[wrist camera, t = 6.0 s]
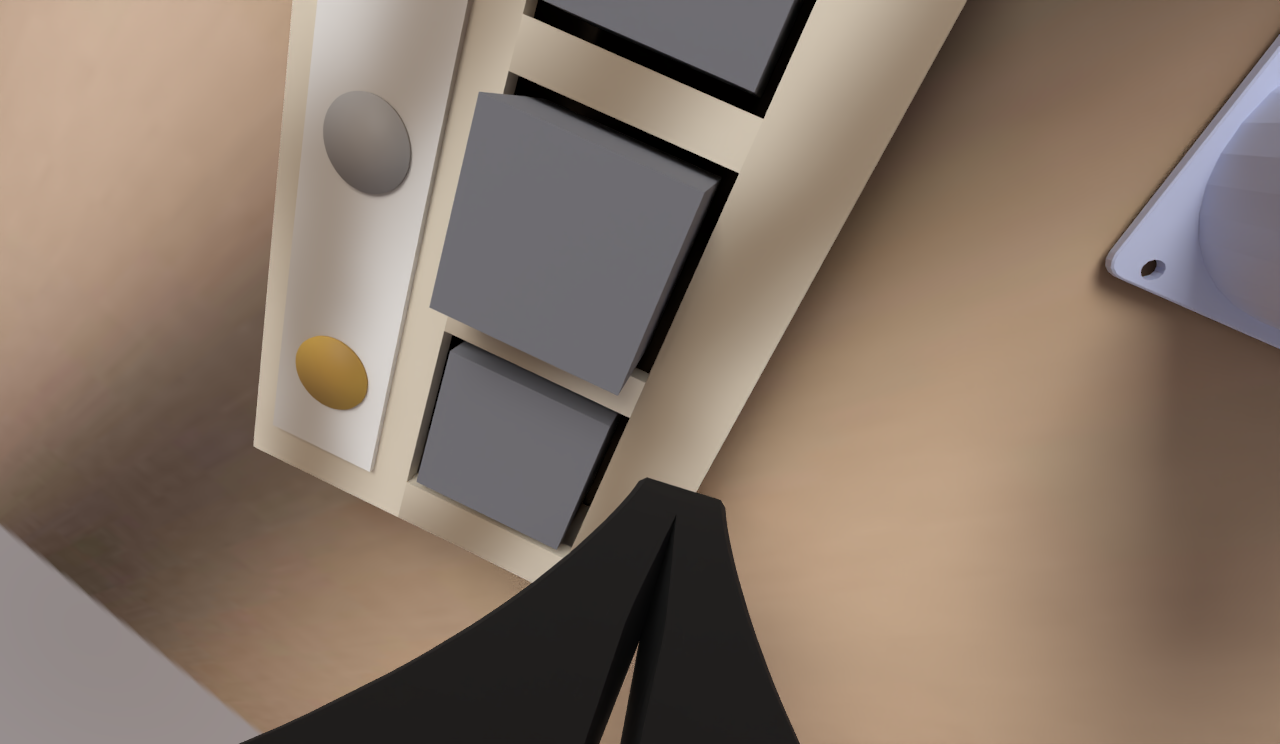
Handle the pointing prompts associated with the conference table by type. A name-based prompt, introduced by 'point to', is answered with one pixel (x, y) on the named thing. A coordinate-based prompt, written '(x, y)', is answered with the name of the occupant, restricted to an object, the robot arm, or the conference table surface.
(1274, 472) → the conference table surface
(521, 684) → the robot arm
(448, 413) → the button
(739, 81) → the button
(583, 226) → the button
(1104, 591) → the conference table surface
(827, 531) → the conference table surface
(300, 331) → the button box
